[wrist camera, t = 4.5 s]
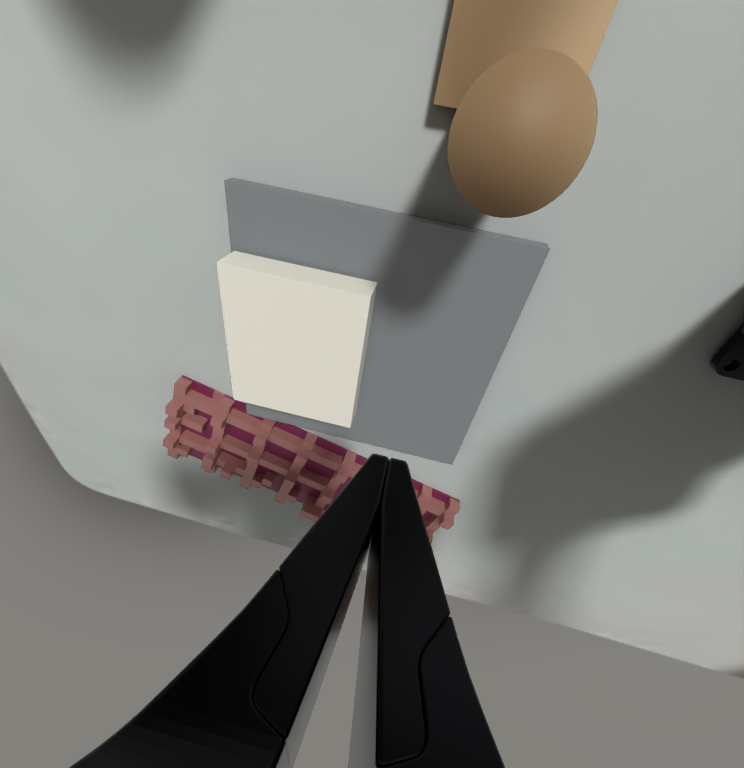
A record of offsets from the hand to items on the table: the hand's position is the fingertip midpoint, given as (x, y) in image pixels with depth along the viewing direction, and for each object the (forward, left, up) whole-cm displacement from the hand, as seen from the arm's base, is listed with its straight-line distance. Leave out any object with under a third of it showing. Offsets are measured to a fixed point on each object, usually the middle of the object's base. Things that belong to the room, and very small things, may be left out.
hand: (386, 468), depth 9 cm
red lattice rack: (+5, +13, -10) cm, 17 cm away
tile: (+2, +3, -7) cm, 8 cm away
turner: (-1, -9, -9) cm, 13 cm away
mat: (+2, +3, -9) cm, 9 cm away
